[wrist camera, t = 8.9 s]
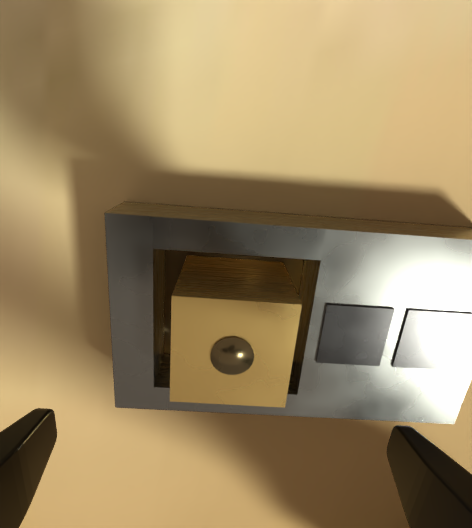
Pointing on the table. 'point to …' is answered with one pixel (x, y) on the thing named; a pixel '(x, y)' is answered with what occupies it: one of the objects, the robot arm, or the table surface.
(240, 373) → the wooden block
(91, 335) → the table surface
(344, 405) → the panel
